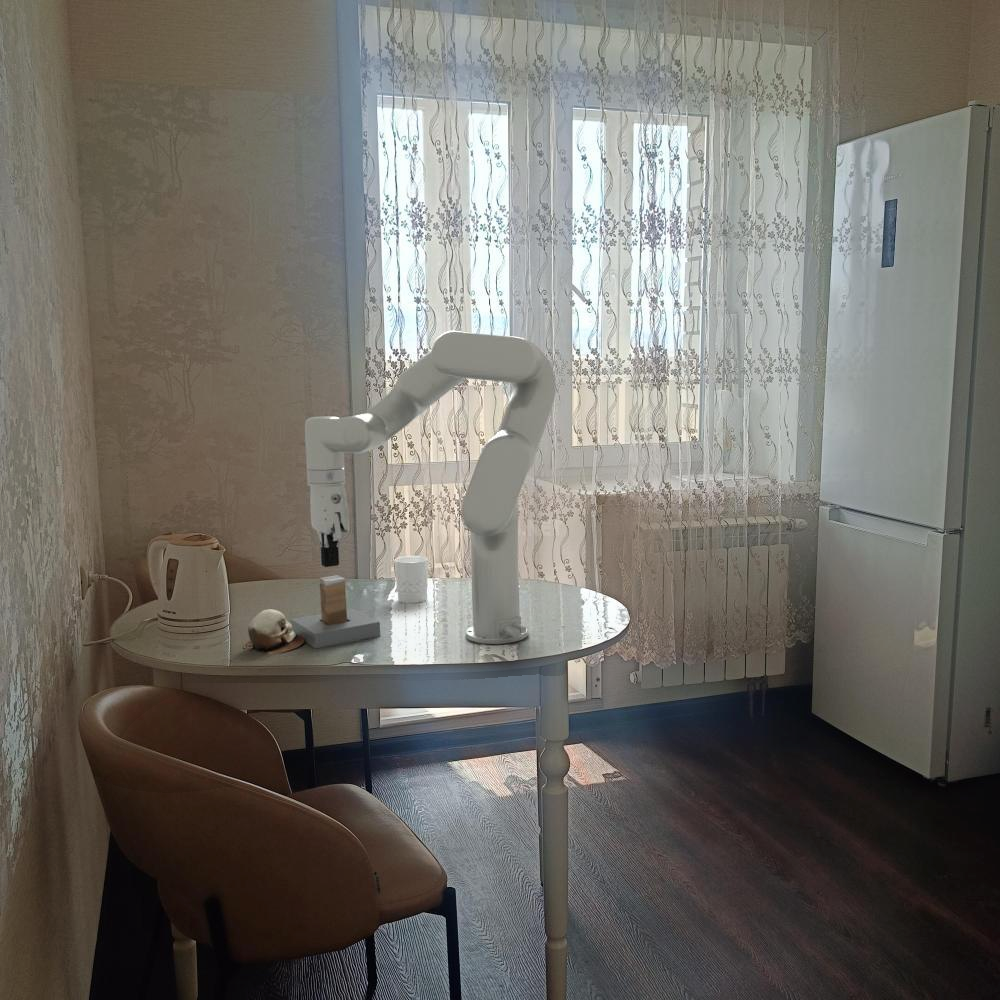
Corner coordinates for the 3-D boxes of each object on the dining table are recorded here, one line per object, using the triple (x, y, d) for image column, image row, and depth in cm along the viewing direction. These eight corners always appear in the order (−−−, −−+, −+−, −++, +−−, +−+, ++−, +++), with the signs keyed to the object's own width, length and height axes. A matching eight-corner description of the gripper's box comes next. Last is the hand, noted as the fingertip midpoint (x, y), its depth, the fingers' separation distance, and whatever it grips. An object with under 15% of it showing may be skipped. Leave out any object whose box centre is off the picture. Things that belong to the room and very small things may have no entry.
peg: (347, 634, 189) (344, 578, 187) (329, 638, 187) (326, 581, 185) (340, 630, 192) (337, 575, 190) (322, 634, 190) (319, 577, 188)
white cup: (407, 595, 222) (405, 554, 220) (435, 597, 218) (433, 556, 217) (389, 602, 215) (387, 561, 213) (418, 605, 211) (416, 563, 210)
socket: (380, 636, 187) (379, 621, 187) (315, 648, 180) (314, 633, 179) (353, 621, 199) (352, 608, 198) (291, 632, 192) (290, 618, 191)
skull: (274, 628, 192) (294, 597, 187) (299, 666, 188) (321, 635, 183) (226, 641, 182) (247, 608, 177) (252, 681, 178) (274, 649, 174)
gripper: (358, 479, 181) (361, 569, 183) (329, 473, 193) (333, 557, 196) (322, 482, 177) (326, 574, 179) (295, 475, 189) (300, 562, 192)
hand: (330, 565), depth 187 cm, fingers closed
